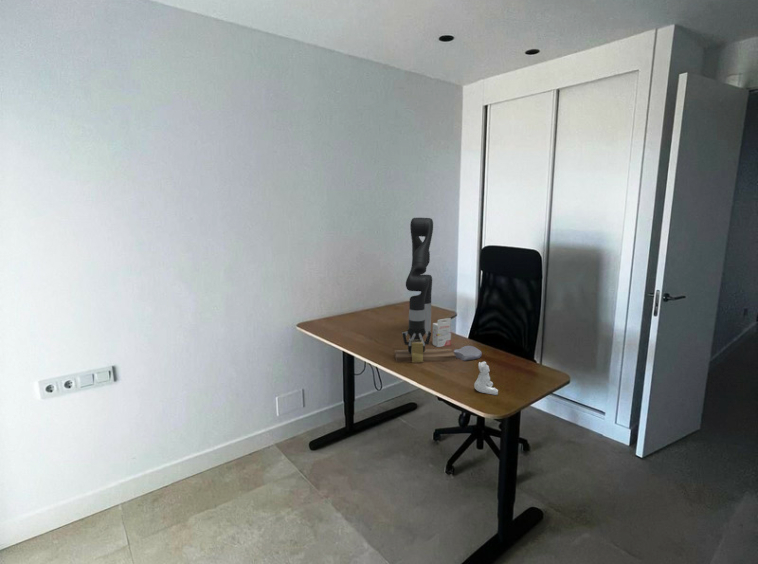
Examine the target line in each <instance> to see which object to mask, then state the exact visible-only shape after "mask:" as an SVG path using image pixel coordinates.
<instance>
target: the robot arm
mask: <svg viewBox="0 0 758 564" xmlns="http://www.w3.org/2000/svg"><path fill="white" fill-rule="evenodd" d="M409 225H410V238H411V248H412V249H411V251H412V252H411V256H412V257H411V258H412V259H411V268H410V271H409V273H408V276H407V277H406V281H405V288H406V289H407V291H410V292H419V294H416V295H412V296H410V297H409V306H408V307H409V312H408V330H407V331H402V332H401V334H402V339H403V343H404V345H405V346H407V350H408V352H409V353H410V354H411V344H412V342H413V340H416V339H418V340H421V342H423V352H424V351H425V349H426V347H425V346H426V345H429V344H430V340H431V338H432V332H431V331H432V322H431V321H432V289H433V276H432V275H431V274H425V273H426V272H427V267H428V265H429V264H430V261H431V260H430V259H431V258H430V257H431V256H430V255H431V254H430V252H431V251H430V247H431V243H432V239H433V233H434V221H433V219H432V218H430V217H413V218H411V220H410V224H409ZM420 237H424V239H423V241H422V239H421V238H420ZM425 335H426V338H425V341H424V339H423V337H424V336H425ZM407 336H409V339H408V340H407Z"/></svg>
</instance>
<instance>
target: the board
mask: <svg viewBox="0 0 758 564" xmlns="http://www.w3.org/2000/svg"><path fill="white" fill-rule="evenodd" d="M394 357H395V361H396V363H412V356H411V354H410V353H409V352H408V349H395V350H394ZM456 361H457V358H456V355H455V354H454V350H453V349H452V348H433V349H431V348H430V349H429V348H427V349H426V348H425V351H424V352H423V362H422V363H425V362H427V363H428V362H430V363H431V362H456Z"/></svg>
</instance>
